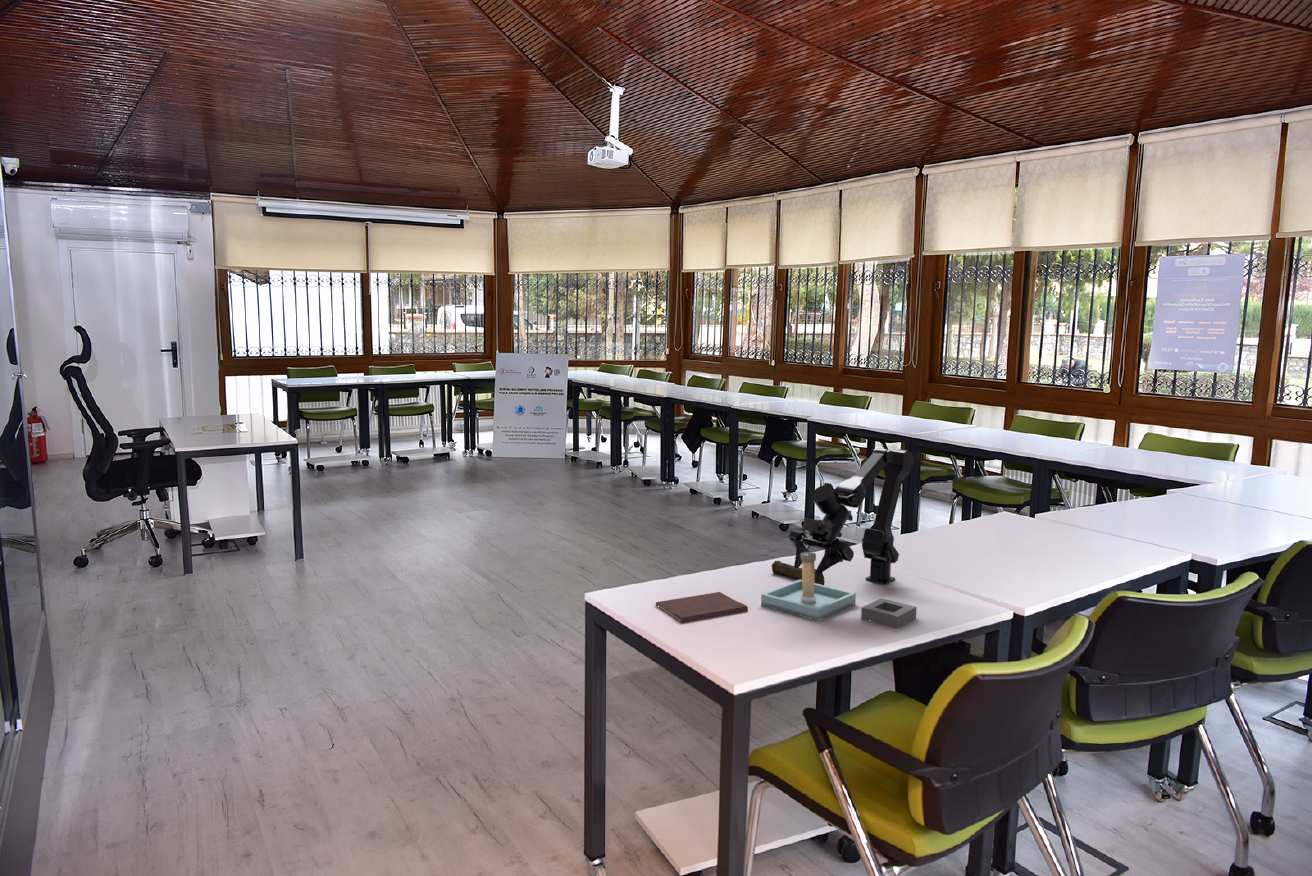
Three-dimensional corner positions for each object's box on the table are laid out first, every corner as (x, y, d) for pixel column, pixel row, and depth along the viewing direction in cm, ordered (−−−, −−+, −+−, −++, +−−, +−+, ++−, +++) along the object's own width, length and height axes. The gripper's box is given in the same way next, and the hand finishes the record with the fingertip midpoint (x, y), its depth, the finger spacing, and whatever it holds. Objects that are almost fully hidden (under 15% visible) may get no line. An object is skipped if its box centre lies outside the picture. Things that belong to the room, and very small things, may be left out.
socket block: (880, 609, 219) (881, 598, 219) (916, 618, 212) (916, 606, 212) (861, 618, 212) (861, 607, 212) (897, 628, 205) (897, 616, 205)
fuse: (813, 597, 225) (813, 551, 223) (818, 602, 221) (817, 555, 219) (798, 598, 225) (798, 552, 223) (803, 603, 221) (803, 557, 219)
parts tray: (799, 589, 236) (799, 579, 235) (855, 604, 223) (855, 593, 223) (761, 605, 223) (761, 594, 223) (818, 621, 211) (818, 609, 210)
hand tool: (770, 574, 252) (770, 559, 251) (780, 571, 254) (780, 556, 254) (817, 589, 237) (817, 574, 236) (826, 587, 239) (827, 571, 239)
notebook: (655, 607, 223) (655, 600, 223) (719, 596, 232) (719, 590, 232) (681, 625, 210) (681, 617, 210) (747, 613, 218) (748, 606, 218)
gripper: (792, 501, 229) (765, 547, 224) (848, 512, 215) (820, 561, 210) (810, 524, 235) (784, 569, 230) (865, 536, 221) (839, 585, 216)
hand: (805, 571), depth 221 cm, fingers open, 7 cm apart
